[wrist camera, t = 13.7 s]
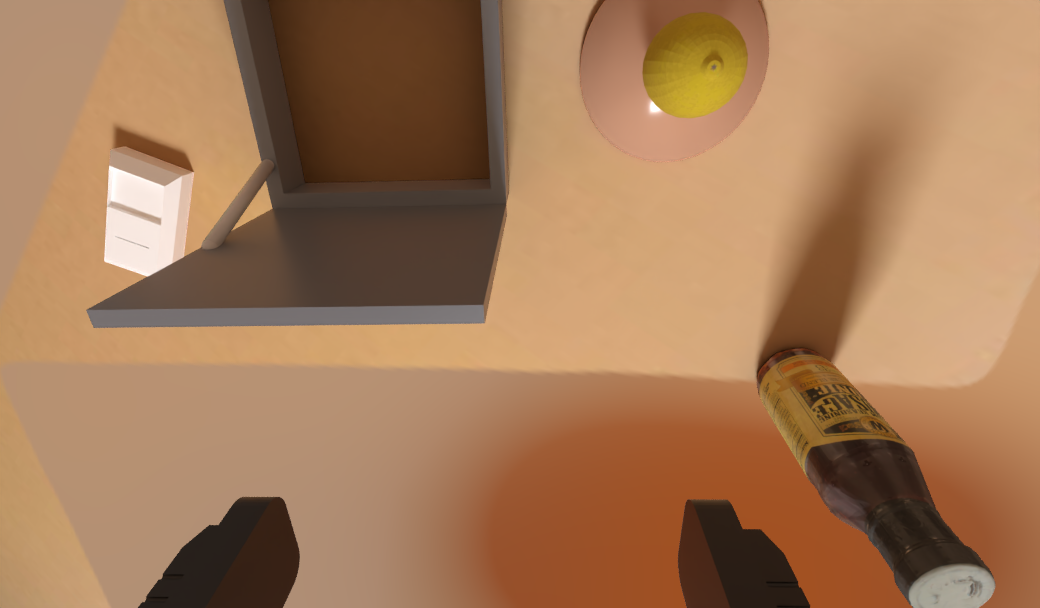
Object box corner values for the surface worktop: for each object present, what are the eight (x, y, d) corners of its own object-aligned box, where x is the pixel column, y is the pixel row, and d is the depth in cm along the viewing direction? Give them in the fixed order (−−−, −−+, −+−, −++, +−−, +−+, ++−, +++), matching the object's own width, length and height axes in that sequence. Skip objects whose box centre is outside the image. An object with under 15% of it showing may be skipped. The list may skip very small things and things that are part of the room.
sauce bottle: (841, 351, 42) (1065, 563, 24) (808, 411, 45) (988, 643, 27) (765, 335, 42) (936, 539, 24) (736, 397, 45) (871, 623, 27)
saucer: (581, -38, 32) (582, -39, 31) (780, -46, 31) (785, -47, 30) (577, 162, 37) (578, 164, 36) (749, 158, 36) (752, 160, 36)
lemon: (692, -3, 32) (740, -23, 24) (733, 77, 33) (789, 80, 26) (615, 56, 33) (638, 54, 26) (658, 129, 35) (691, 146, 28)
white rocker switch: (121, 253, 41) (95, 265, 39) (129, 145, 38) (101, 150, 35) (184, 275, 42) (162, 288, 39) (197, 171, 38) (174, 178, 36)
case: (238, -63, 32) (-143, -225, 14) (498, -74, 31) (446, -259, 13) (296, 207, 39) (93, 327, 21) (509, 203, 38) (484, 323, 20)
